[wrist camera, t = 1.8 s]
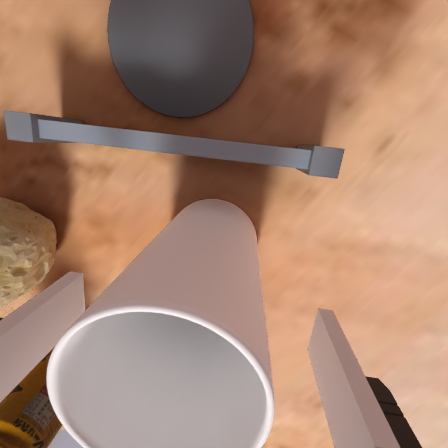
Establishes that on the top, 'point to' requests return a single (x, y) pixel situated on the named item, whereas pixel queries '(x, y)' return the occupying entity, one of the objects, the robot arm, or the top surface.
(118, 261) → the top surface
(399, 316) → the top surface
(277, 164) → the grey barrier wall
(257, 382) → the cup
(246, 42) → the slate coaster
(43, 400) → the condiment
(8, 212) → the beige rough lump
